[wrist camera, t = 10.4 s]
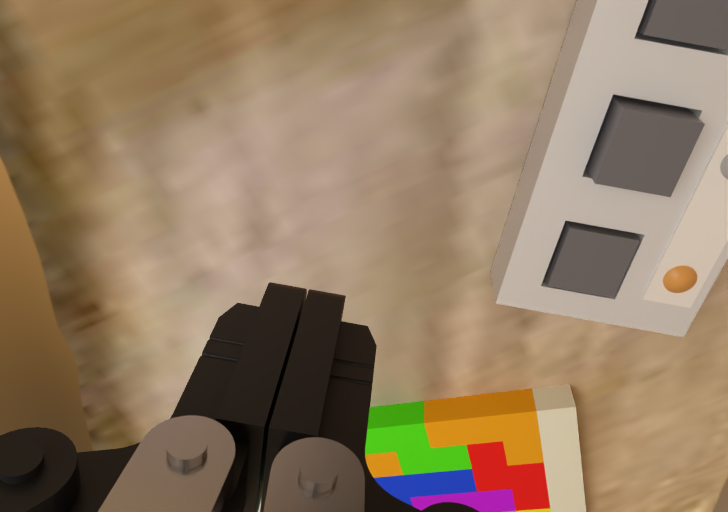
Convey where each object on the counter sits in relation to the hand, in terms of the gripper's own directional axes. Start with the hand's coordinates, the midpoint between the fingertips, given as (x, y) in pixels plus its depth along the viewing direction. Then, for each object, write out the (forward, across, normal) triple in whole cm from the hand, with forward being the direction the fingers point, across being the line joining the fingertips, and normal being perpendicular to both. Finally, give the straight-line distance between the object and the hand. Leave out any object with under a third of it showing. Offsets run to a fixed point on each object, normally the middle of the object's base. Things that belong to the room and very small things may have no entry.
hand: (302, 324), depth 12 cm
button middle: (+26, -15, +3) cm, 31 cm away
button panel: (+29, -17, +3) cm, 34 cm away
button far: (+28, -16, +11) cm, 33 cm away
